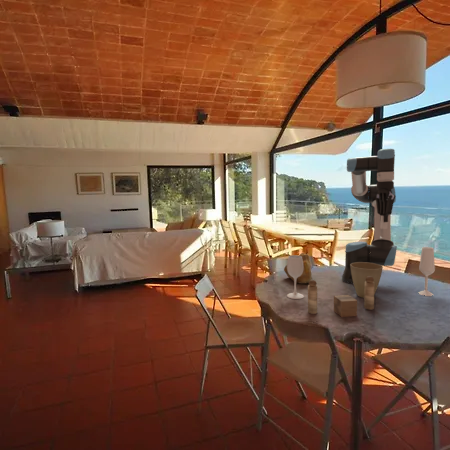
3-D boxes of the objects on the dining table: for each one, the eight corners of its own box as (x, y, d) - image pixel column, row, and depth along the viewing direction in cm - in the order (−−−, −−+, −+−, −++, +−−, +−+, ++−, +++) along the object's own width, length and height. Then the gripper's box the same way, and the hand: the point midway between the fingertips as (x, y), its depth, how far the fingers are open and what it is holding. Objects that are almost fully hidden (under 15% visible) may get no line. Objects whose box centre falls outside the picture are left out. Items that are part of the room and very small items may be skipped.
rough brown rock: (286, 274, 199) (284, 252, 197) (312, 274, 193) (310, 251, 192) (282, 286, 177) (280, 262, 175) (311, 286, 171) (309, 260, 170)
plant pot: (360, 302, 144) (361, 269, 143) (344, 292, 159) (344, 263, 157) (388, 299, 147) (389, 268, 145) (369, 290, 161) (370, 261, 159)
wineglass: (294, 300, 149) (294, 259, 147) (283, 295, 157) (283, 256, 154) (307, 297, 153) (307, 257, 151) (296, 292, 161) (296, 254, 158)
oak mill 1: (306, 310, 136) (306, 278, 134) (314, 310, 136) (315, 278, 135) (310, 314, 132) (310, 281, 130) (318, 313, 132) (318, 280, 131)
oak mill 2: (362, 306, 139) (363, 275, 137) (370, 306, 139) (371, 274, 138) (367, 309, 135) (368, 277, 133) (375, 309, 135) (376, 277, 134)
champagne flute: (418, 291, 158) (420, 246, 155) (433, 293, 154) (436, 247, 151) (417, 294, 152) (419, 248, 150) (433, 297, 149) (435, 249, 146)
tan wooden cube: (333, 310, 135) (333, 295, 134) (348, 309, 136) (348, 294, 135) (341, 317, 128) (341, 301, 127) (356, 316, 129) (357, 300, 128)
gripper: (370, 181, 154) (369, 227, 156) (386, 180, 141) (385, 230, 143) (383, 181, 155) (382, 226, 157) (401, 180, 142) (399, 229, 144)
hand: (383, 228), depth 150 cm, fingers closed
